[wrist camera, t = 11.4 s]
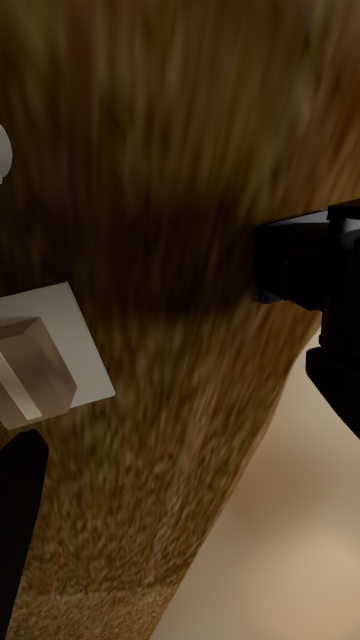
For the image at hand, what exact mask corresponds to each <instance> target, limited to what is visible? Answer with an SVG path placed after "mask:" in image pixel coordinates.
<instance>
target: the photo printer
mask: <svg viewBox="0 0 360 640" xmlns="http://www.w3.org/2000/svg"><path fill="white" fill-rule="evenodd" d="M11 164H12V149H11V144H10V141H9V138H8V136H7V134H6V132H5V130H4V128H3V127H2V126H1V124H0V184H2V177H5V176H6V175H7V173H8V172H9V170H10V167H11Z"/></svg>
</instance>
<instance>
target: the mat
mask: <svg viewBox="0 0 360 640" xmlns="http://www.w3.org/2000/svg"><path fill="white" fill-rule="evenodd" d="M36 317H41V319H42V321H43V323H44V325H45V326H46V328H47V330H48V332H49V334H50V336H51V338H52V340H53V341H54V343H55V345H56V347H57V349H58V351H59V353H60V355H61V356H62V358H63V360H64V362H65V364H66V366H67V368H68V370H69V371H70V373H71V375H72V377H73V379H74V381H75V383H76V385H77V390H76V393H75V395H74V398H73V401H72V403H71V406H70V408H72V407H75V406H79V405H82V404H86V403H90V402H93V401H97V400H100V399H104V398H107V397H111V396H114V395H115V391H114V389H113V386H112V384H111V381H110V379H109V377H108V374H107V372H106V370H105V367H104V365H103V363H102V360H101V358H100V356H99V353H98V351H97V349H96V346H95V344H94V342H93V339H92V337H91V335H90V332H89V330H88V328H87V325H86V323H85V321H84V318H83V316H82V314H81V311H80V309H79V306H78V304H77V302H76V299H75V297H74V295H73V292H72V290H71V288H70V285H69V283H68V282H63V283H59V284H55V285H51V286H47V287H42V288H38V289H34V290H30V291H26V292H21V293H17V294H13V295H9V296H5V297H1V298H0V327H2V326H6V325H9V324H13V323H17V322H21V321H25V320H29V319H32V318H36ZM0 421H1V420H0ZM4 426H5V425H4Z"/></svg>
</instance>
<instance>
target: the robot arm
mask: <svg viewBox="0 0 360 640" xmlns="http://www.w3.org/2000/svg"><path fill="white" fill-rule="evenodd" d="M327 215H328V218H327V219H326V216H327ZM262 229H263V230H264V234H263V235H262V236H261V234H260V232H261V230H262ZM255 245H256V254H255V256H254V263H255V280H256V286H258V298H259V301H260V302H261V303H262V304H269V303H272V302H276V301H280V300H285V301H287V300H289V301H291V302H293V303H295V304H297V305H299V306H301V307H303V308H305V309H307V310H309V311H313V310H319V311H321V312H322V324H321V334H320V335H319V344H320V346H321V347H316V348H312V349H309V350H308V351H307V352H306V367H305V368H306V373H307V375H308V377H309V378H310V379H311V381H312V382H313V383H314V385H315V386H316V387H317V389H318V390H319V391H320V393H321V394H322V395H323V397H324V398H325V399H326V401H327V402H328V403H329V405H330V406H331V407H332V409H333V410H334V411H335V412H336V413H337V415H338V416H339V417H340V418H341V419H342V421H343V422H344V423H345V424H346V425H347V426H348V427H349V428H350V429H351V431H353V433H354V434H355V435H356V436H357V437H358V438H359V439H360V198H359V199H355V200H350V201H346V202H342V203H338V204H333V205H329V206H328V210H325V211H321V212H316V213H312V214H308V215H304V216H299V217H295V218H291V219H287V220H282V221H278V222H274V223H270V224H265V225H261V226H259V227H257V229H256V231H255ZM265 296H266V299H265V300H263V299H264V297H265ZM48 454H49V449H48V445H47V443H46V442H45V441H44V439H43V438H42V436H41V435H40V433H39V432H38V430H36V429H29V430H26V431H22V432H20V433H18V434H17V435H16V436H15V437H14V438H13V439H12V440H11V441H10V442H8V443H7V444H6V445H5V446H4V447H3V448H2V449H1V450H0V640H5V637H6V633H7V630H8V626H9V622H10V618H11V614H12V611H13V607H14V603H15V599H16V595H17V592H18V588H19V584H20V580H21V576H22V573H23V569H24V565H25V561H26V557H27V554H28V550H29V546H30V542H31V538H32V535H33V531H34V527H35V523H36V519H37V515H38V511H39V506H40V501H41V496H42V490H43V484H44V478H45V472H46V466H47V460H48Z"/></svg>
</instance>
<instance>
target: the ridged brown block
mask: <svg viewBox="0 0 360 640" xmlns="http://www.w3.org/2000/svg"><path fill="white" fill-rule="evenodd" d="M76 390H77V385H76V383H75V381H74V379H73V377H72V375H71V373H70V371H69V370H68V368H67V366H66V364H65V362H64V360H63V358H62V356H61V355H60V353H59V351H58V349H57V347H56V345H55V343H54V341H53V340H52V338H51V336H50V334H49V332H48V330H47V328H46V326H45V325H44V323H43V321H42V319H41V317H36V318H32V319H29V320H25V321H21V322H17V323H13V324H9V325H6V326H2V327H0V420H1V422H2V423H3V424H4V425H5V427H6V428H7V429H8V430H11V429H14V428H17V427H21V426H24V425H28V424H31V423H34V422H38V421H41V420H45V419H48V418H51V417H55V416H58V415H62V414H65V413H68V412H69V409H70V406H71V403H72V401H73V398H74V395H75V393H76Z"/></svg>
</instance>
